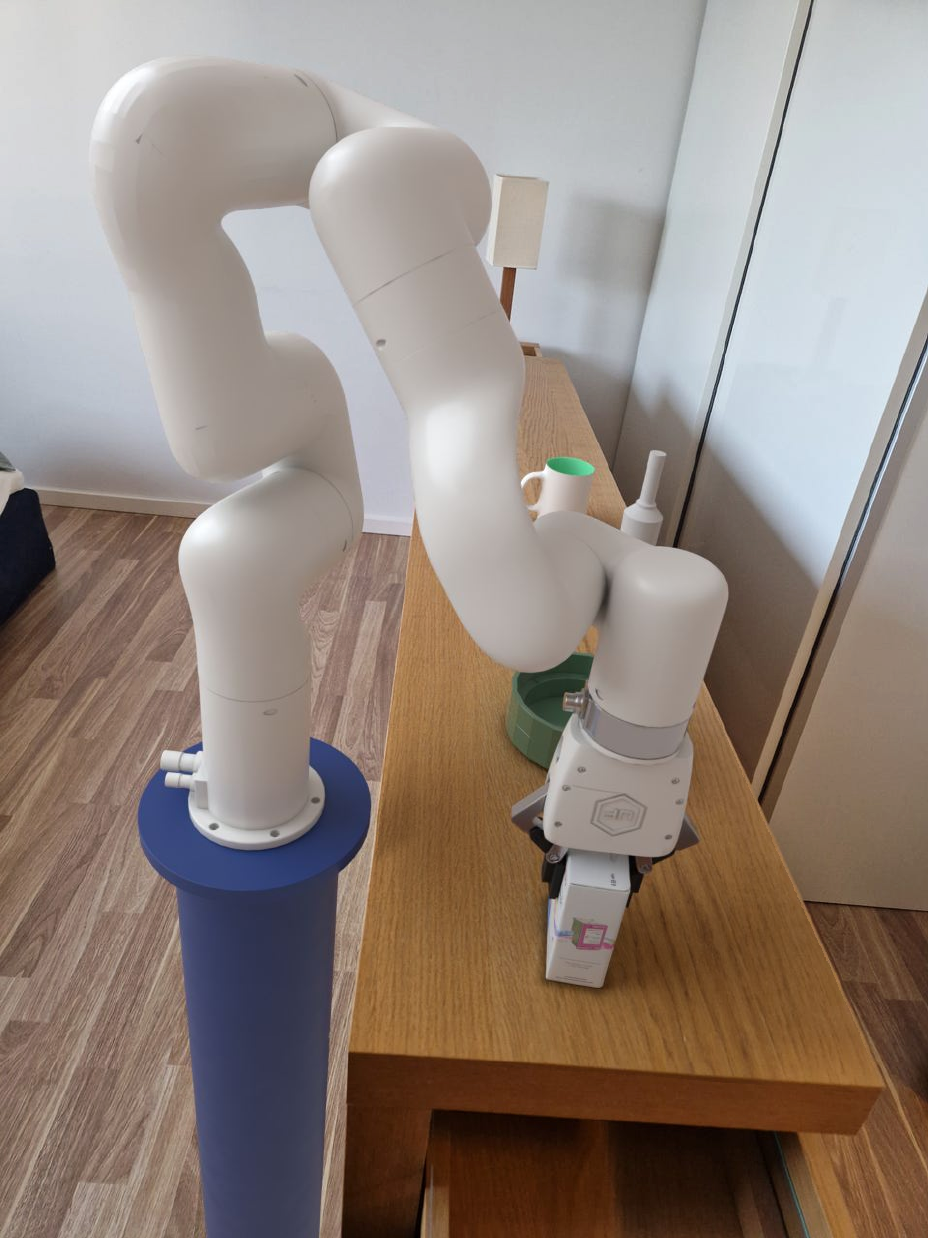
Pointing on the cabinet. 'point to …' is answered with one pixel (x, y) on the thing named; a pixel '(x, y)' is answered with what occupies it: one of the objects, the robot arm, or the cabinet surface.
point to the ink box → (586, 916)
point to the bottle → (646, 504)
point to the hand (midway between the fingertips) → (587, 888)
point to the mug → (562, 486)
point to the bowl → (544, 706)
